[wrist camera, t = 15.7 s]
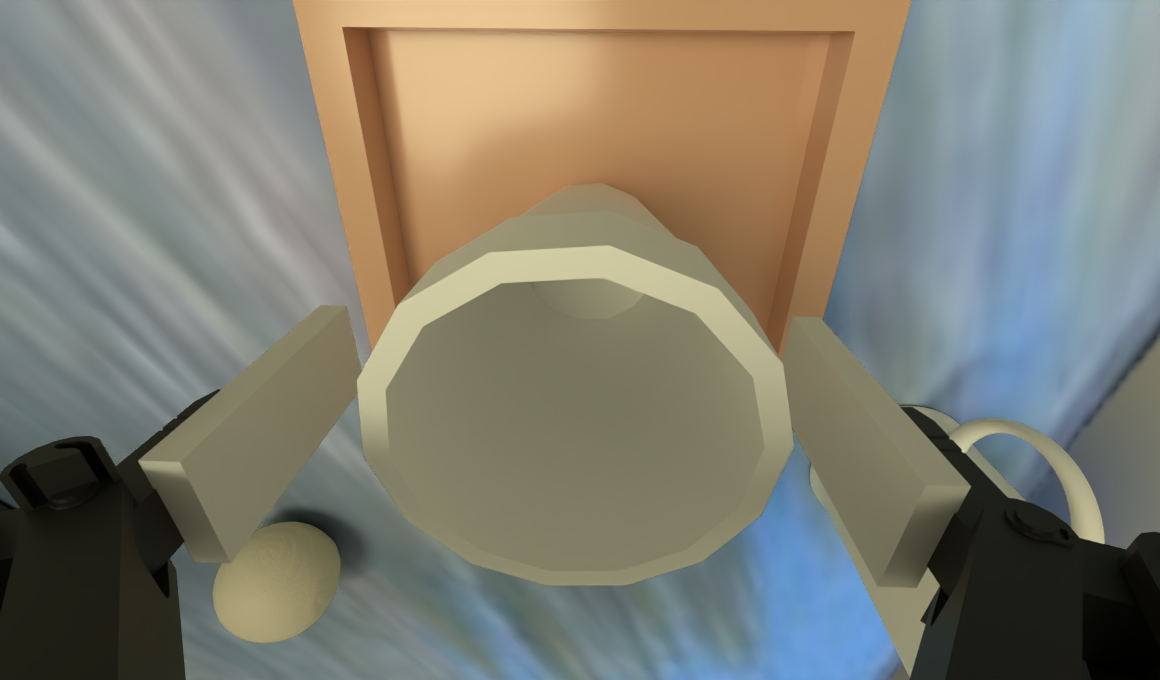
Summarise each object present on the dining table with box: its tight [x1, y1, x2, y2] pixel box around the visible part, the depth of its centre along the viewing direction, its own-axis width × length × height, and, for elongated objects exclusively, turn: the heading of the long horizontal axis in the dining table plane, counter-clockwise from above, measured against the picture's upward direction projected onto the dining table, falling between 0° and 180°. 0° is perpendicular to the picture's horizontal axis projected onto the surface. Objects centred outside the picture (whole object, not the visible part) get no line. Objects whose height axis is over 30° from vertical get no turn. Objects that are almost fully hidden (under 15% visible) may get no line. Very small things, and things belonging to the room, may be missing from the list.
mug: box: [810, 406, 1105, 677], centre depth 22 cm, size 12×9×12 cm
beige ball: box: [213, 521, 341, 643], centre depth 31 cm, size 7×7×7 cm
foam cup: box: [357, 183, 794, 586], centre depth 16 cm, size 10×9×13 cm
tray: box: [293, 0, 912, 362], centre depth 22 cm, size 20×20×3 cm
